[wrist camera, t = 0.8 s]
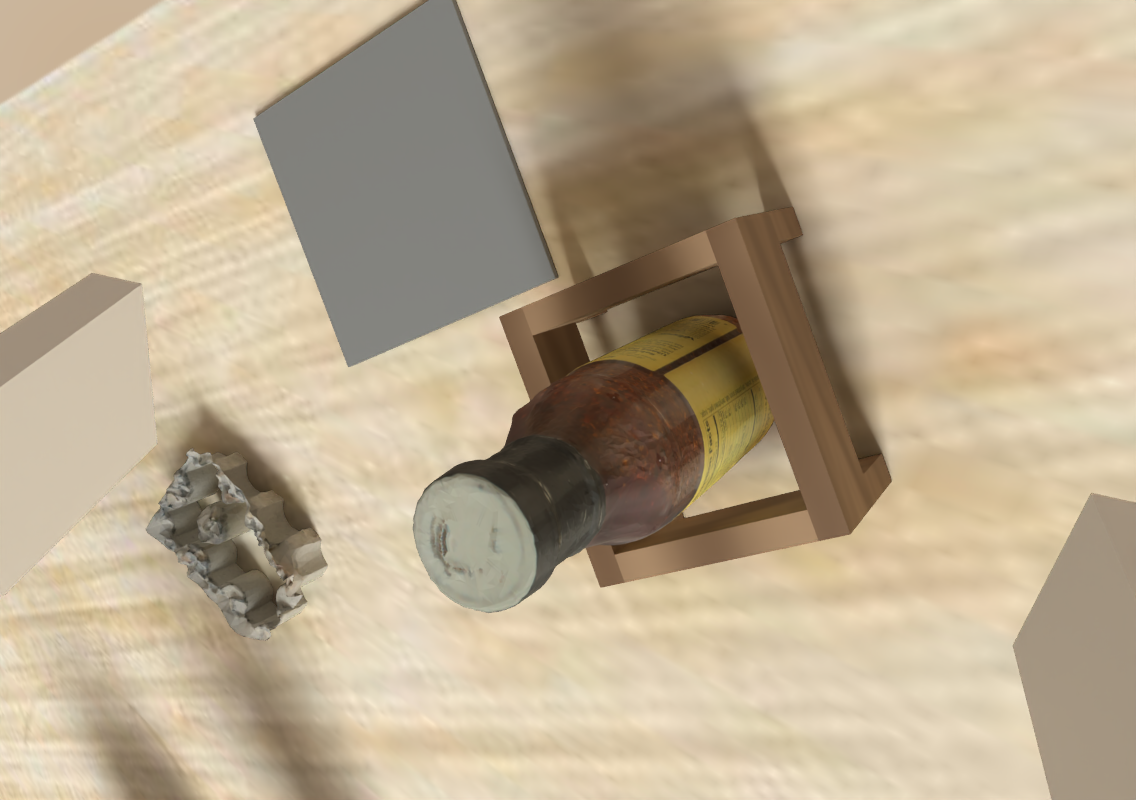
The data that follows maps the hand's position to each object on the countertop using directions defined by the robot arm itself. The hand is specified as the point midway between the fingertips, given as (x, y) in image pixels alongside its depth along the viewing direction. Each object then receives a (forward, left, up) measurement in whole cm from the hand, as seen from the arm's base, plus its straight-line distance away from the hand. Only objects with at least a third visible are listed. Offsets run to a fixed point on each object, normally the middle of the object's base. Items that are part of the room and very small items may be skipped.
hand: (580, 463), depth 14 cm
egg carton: (+42, +2, -29) cm, 51 cm away
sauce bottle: (+10, +2, -29) cm, 31 cm away
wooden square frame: (+10, +2, -28) cm, 30 cm away
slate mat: (+23, -12, -28) cm, 39 cm away
